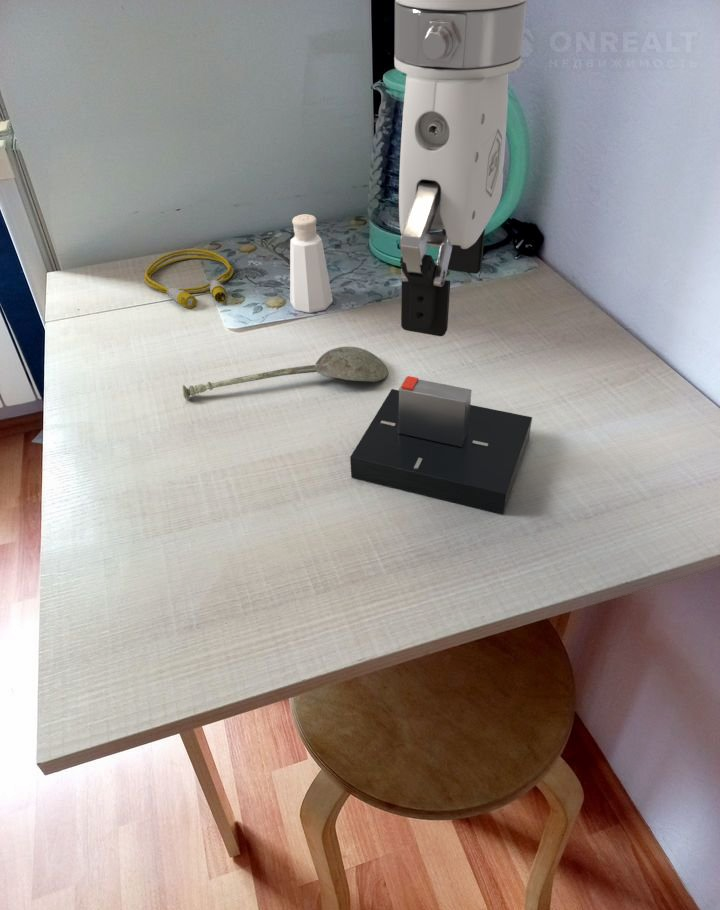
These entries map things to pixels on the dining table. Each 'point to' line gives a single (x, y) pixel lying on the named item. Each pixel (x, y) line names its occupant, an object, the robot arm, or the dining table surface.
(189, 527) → the dining table surface
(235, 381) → the soupspoon
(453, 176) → the robot arm
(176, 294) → the extension cord
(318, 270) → the pepper shaker
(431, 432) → the tap handle
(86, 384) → the dining table surface
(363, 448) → the plate
